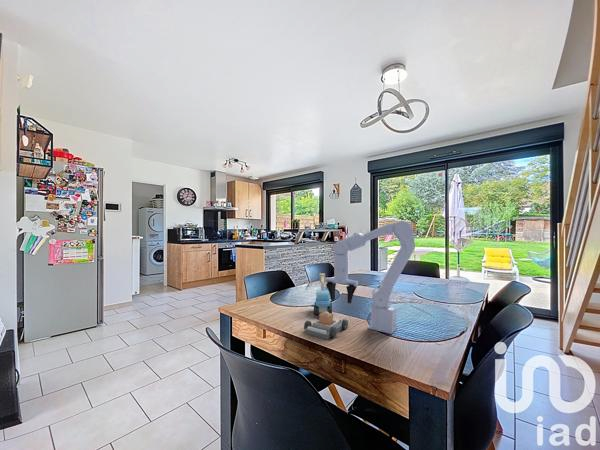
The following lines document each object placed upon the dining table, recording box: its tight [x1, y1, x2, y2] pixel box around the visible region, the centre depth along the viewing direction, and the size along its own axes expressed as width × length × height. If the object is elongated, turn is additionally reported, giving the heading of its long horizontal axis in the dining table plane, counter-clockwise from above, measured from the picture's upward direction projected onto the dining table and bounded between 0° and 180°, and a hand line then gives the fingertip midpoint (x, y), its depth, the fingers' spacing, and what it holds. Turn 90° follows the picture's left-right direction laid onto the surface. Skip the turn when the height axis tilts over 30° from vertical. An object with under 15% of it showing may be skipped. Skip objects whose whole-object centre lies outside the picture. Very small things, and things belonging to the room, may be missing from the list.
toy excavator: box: [313, 273, 333, 316], centre depth 126 cm, size 9×17×17 cm, turn 174°
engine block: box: [318, 312, 334, 326], centre depth 102 cm, size 4×4×5 cm
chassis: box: [303, 313, 349, 340], centre depth 102 cm, size 12×16×4 cm
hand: (341, 301), depth 109 cm, fingers open, 7 cm apart
